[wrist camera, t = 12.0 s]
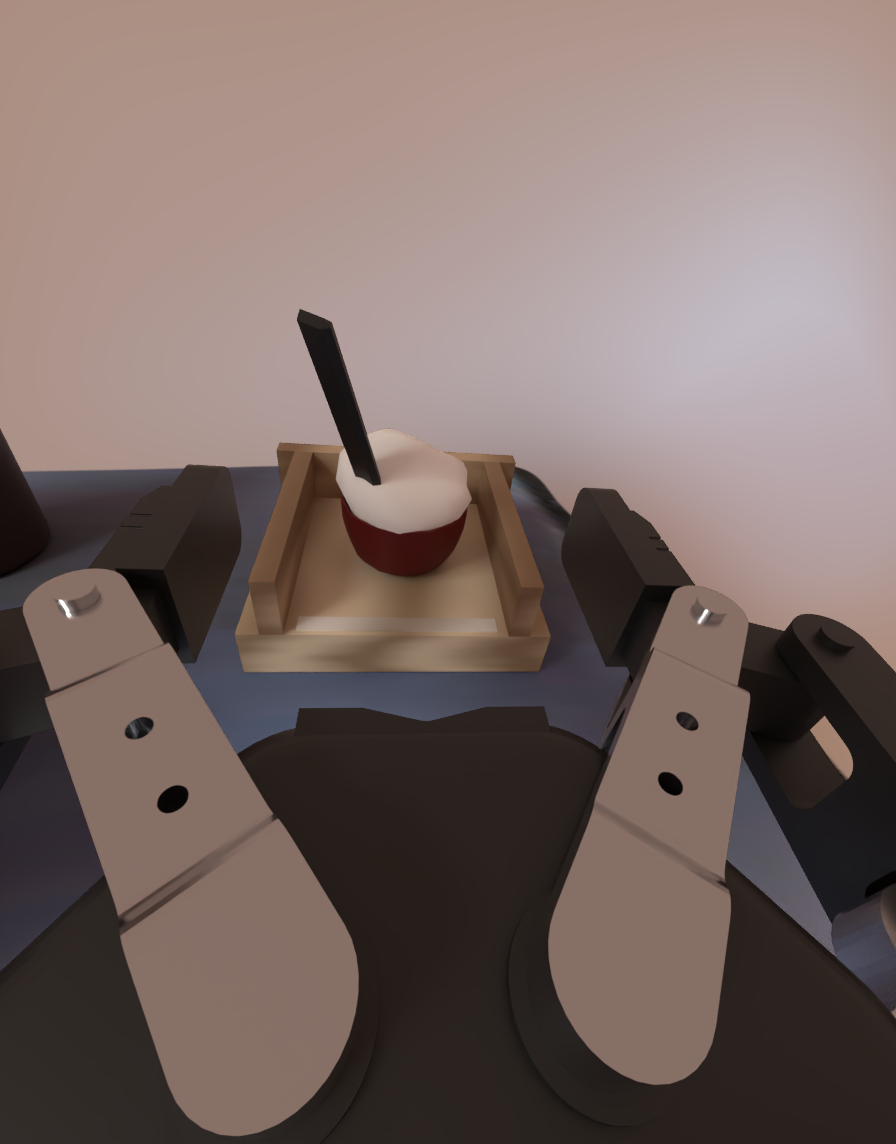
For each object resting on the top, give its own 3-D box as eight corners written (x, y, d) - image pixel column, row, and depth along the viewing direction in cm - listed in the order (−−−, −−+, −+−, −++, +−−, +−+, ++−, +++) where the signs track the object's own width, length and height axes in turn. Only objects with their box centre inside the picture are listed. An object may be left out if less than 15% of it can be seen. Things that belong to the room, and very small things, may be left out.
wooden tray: (244, 672, 22) (220, 581, 19) (289, 521, 32) (279, 442, 28) (539, 671, 24) (567, 588, 21) (497, 528, 34) (512, 455, 30)
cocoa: (444, 518, 30) (474, 300, 23) (498, 576, 26) (554, 329, 19) (288, 542, 26) (266, 285, 19) (321, 616, 22) (309, 318, 15)
